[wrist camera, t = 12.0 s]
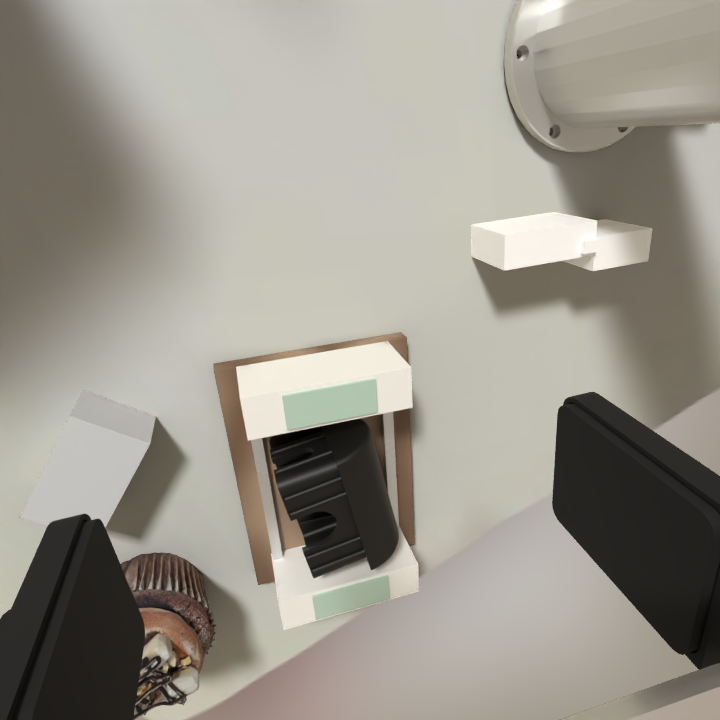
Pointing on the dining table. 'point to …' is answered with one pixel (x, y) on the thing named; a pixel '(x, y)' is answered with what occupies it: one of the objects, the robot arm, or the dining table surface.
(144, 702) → the cupcake
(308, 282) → the dining table surface
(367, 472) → the end cap
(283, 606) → the mounted modules
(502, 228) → the white stepped block
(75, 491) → the block
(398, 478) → the rail board
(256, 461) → the rail
